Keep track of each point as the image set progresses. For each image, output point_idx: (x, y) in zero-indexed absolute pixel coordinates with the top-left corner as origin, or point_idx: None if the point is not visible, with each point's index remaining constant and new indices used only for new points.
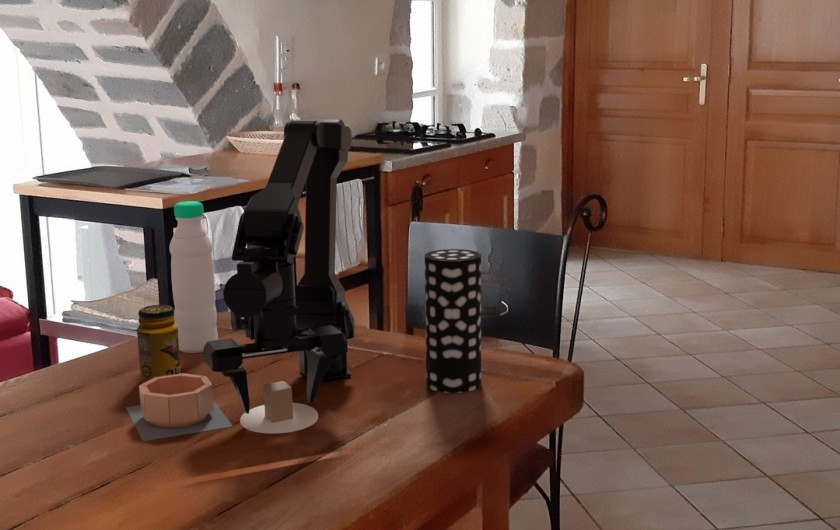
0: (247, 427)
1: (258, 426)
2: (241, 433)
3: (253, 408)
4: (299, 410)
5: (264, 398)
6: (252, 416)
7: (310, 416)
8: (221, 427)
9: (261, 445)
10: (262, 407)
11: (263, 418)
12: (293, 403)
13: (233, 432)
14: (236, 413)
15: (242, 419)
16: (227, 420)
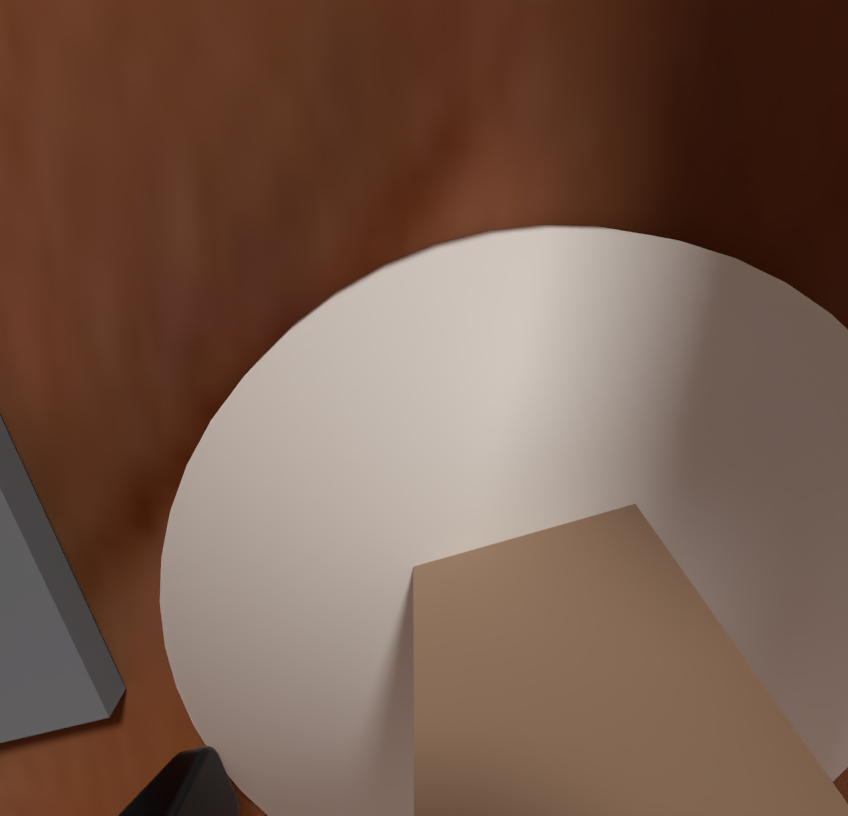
0: (248, 781)
1: (346, 782)
2: None
3: (283, 344)
4: (780, 518)
5: (420, 724)
6: (282, 568)
7: (843, 677)
8: (4, 727)
9: None
10: (390, 344)
11: (394, 629)
12: (765, 300)
13: (135, 721)
14: (100, 248)
15: (184, 614)
16: (31, 576)
